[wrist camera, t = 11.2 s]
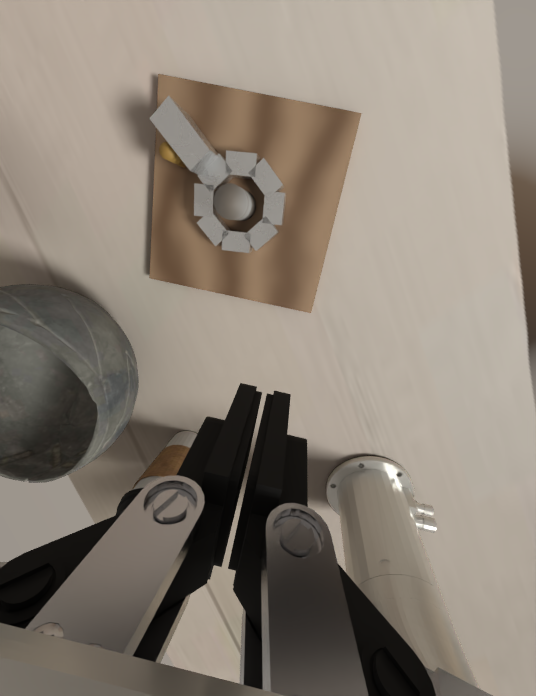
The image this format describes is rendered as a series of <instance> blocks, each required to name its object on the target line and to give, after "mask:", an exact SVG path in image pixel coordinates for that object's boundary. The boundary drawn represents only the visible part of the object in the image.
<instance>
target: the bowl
mask: <svg viewBox="0 0 536 696" xmlns="http://www.w3.org/2000/svg"><path fill="white" fill-rule="evenodd" d="M137 393H138V370H137V362H136V358H135V355H134V351H133V349H132V346H131V344H130V342H129V340H128V338H127V336H126V335H125V333H124V332H123V331H122V329H121V328H120V326H119V325H118V324H117V323H116V322H115V320H114V319H113V318H112V317H111V316H110V315H109V314H108V313H107V312H106V311H105V310H104V309H103V308H102V307H100V306H99V305H98V304H96V303H95V302H93V301H91V300H90V299H88V298H86V297H84V296H82V295H79V294H77V293H75V292H72V291H69V290H66V289H63V288H60V287H54V286H44V285H30V284H28V285H11V286H5V287H0V476H2V477H6V478H9V479H13V480H19V481H29V482H30V483H32V482H33V483H38V482H39V483H40V482H49V481H53V480H56V479H59V478H61V477H63V476H66V475H68V474H70V473H72V472H74V471H76V470H79V469H80V468H82V467H83V466H85V465H87V464H88V463H90V462H91V461H93V460H94V459H96V458H97V457H98V456H100V455H101V454H102V453H103V452H105V451H106V450H107V449H108V448H109V447H110V446H111V445H112V444H113V443H114V442H115V440H116V439H117V438H118V437H119V435H120V434H121V433H122V431H123V430H124V429H125V427H126V425H127V423H128V422H129V420H130V417H131V415H132V412H133V409H134V405H135V401H136V397H137Z"/></svg>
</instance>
